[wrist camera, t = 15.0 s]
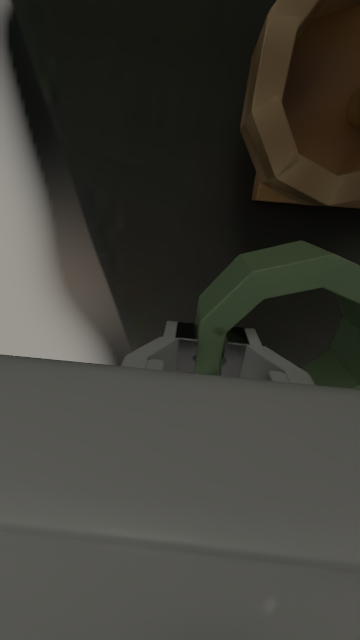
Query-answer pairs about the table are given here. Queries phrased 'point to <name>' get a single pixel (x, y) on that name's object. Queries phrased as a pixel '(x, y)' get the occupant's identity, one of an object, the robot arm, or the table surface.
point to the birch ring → (269, 116)
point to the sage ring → (276, 280)
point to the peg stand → (324, 97)
